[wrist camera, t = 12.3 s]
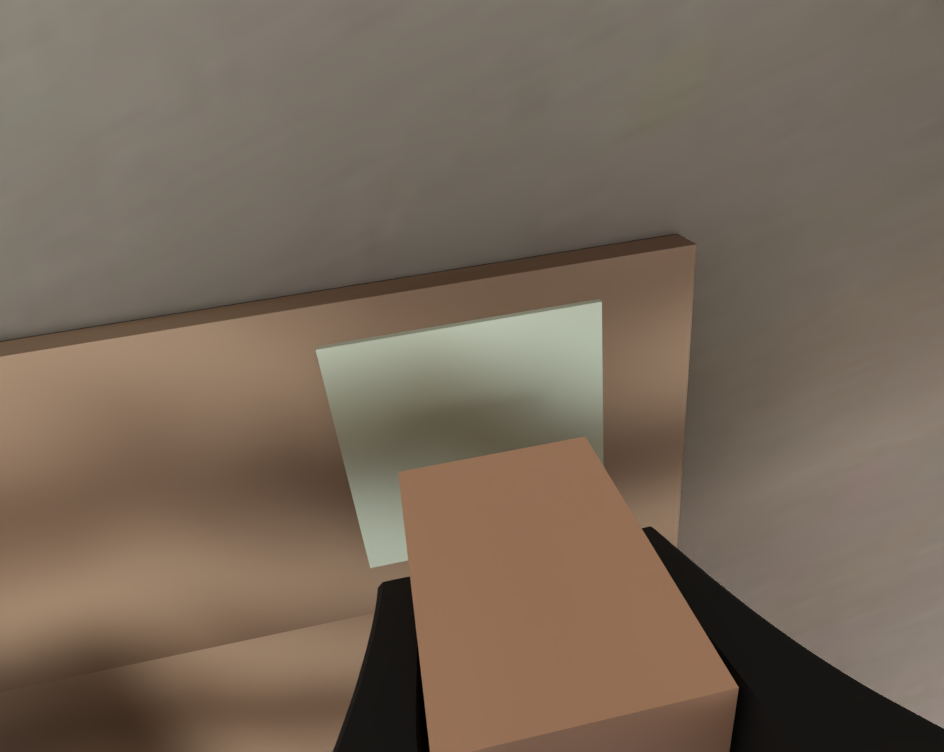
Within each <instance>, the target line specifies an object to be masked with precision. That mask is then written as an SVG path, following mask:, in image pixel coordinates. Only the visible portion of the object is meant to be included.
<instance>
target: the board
mask: <svg viewBox="0 0 944 752" xmlns="http://www.w3.org/2000/svg"><path fill="white" fill-rule="evenodd" d="M696 245H697V244H695V243H693V242H691V241H690V240H688V239H686V238H684V237H682V236H681V235H679V234H675V235H669V236H663V237H656V238H650V239H644V240H637V241H631V242H625V243H619V244H612V245H606V246H600V247H593V248H587V249H581V250H575V251H568V252H562V253H556V254H549V255H543V256H537V257H531V258H524V259H518V260H512V261H505V262H499V263H493V264H487V265H480V266H474V267H468V268H461V269H455V270H449V271H443V272H436V273H430V274H424V275H418V276H411V277H405V278H399V279H392V280H386V281H380V282H374V283H367V284H361V285H355V286H348V287H342V288H336V289H330V290H323V291H317V292H311V293H304V294H298V295H292V296H286V297H279V298H273V299H267V300H260V301H254V302H248V303H242V304H235V305H229V306H223V307H216V308H210V309H204V310H198V311H191V312H185V313H179V314H172V315H166V316H160V317H154V318H147V319H141V320H135V321H128V322H122V323H116V324H110V325H103V326H97V327H91V328H84V329H78V330H72V331H66V332H59V333H53V334H47V335H40V336H34V337H28V338H22V339H15V340H9V341H3V342H0V752H333V749H334V747H335V744H336V742H337V739H338V736H339V733H340V730H341V728H342V725H343V722H344V719H345V716H346V713H347V711H348V708H349V705H350V702H351V699H352V696H353V693H354V690H355V687H356V683H357V680H358V676H359V673H360V670H361V666H362V663H363V659H364V656H365V652H366V648H367V644H368V640H369V636H370V632H371V628H372V623H373V618H374V613H375V607H376V600H377V591H378V587H379V586H380V585H381V583H382V582H385V581H390V580H395V579H399V578H404V577H409V576H410V571H409V563H408V554H407V545H406V536H405V527H404V519H403V510H402V501H401V492H400V483H399V475H398V472H401V471H406V470H411V469H417V468H422V467H427V466H432V465H438V464H443V463H448V462H453V461H459V460H464V459H469V458H474V457H480V456H485V455H490V454H495V453H501V452H506V451H511V450H516V449H522V448H527V447H532V446H537V445H543V444H548V443H553V442H558V441H564V440H569V439H574V438H579V437H586V438H587V440H588V442H589V443H590V445H591V446H592V448H593V450H594V451H595V453H596V455H597V456H598V458H599V460H600V461H601V463H602V464H603V466H604V468H605V469H606V471H607V473H608V474H609V476H610V478H611V479H612V481H613V482H614V484H615V486H616V487H617V489H618V491H619V492H620V494H621V496H622V497H623V499H624V500H625V502H626V504H627V505H628V507H629V509H630V510H631V512H632V514H633V515H634V517H635V518H636V520H637V522H638V523H639V525H640V527H641V528H645V527H650V526H651V527H653V528H654V529H655V530H657V531H658V532H659V533H660V534H661V535H662V536H664V537H665V538H666V539H667V540H668V541H669V542H670V543H672V544H673V545H674V546H675V547H676V548H677V545H678V530H679V514H680V498H681V482H682V466H683V451H684V435H685V419H686V403H687V387H688V372H689V356H690V340H691V324H692V308H693V293H694V277H695V261H696Z"/></svg>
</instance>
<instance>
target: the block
mask: <svg viewBox="0 0 944 752" xmlns="http://www.w3.org/2000/svg"><path fill="white" fill-rule="evenodd" d="M398 475H399V483H400V492H401V501H402V510H403V519H404V527H405V536H406V545H407V554H408V563H409V571H410V580H411V589H412V598H413V607H414V615H415V624H416V633H417V642H418V651H419V659H420V668H421V677H422V686H423V695H424V703H425V712H426V721H427V730H428V738H429V747H430V752H729V751H730V744H731V737H732V730H733V724H734V717H735V710H736V703H737V697H738V690H739V687H738V685H737V684H736V682H735V681H734V679H733V677H732V676H731V674H730V672H729V671H728V669H727V667H726V666H725V664H724V663H723V661H722V659H721V658H720V656H719V654H718V653H717V651H716V649H715V648H714V646H713V645H712V643H711V641H710V640H709V638H708V636H707V635H706V633H705V631H704V630H703V628H702V627H701V625H700V623H699V622H698V620H697V618H696V617H695V615H694V613H693V612H692V610H691V609H690V607H689V605H688V604H687V602H686V600H685V599H684V597H683V595H682V594H681V592H680V591H679V589H678V587H677V586H676V584H675V582H674V581H673V579H672V577H671V576H670V574H669V573H668V571H667V569H666V568H665V566H664V564H663V563H662V561H661V559H660V558H659V556H658V555H657V553H656V551H655V550H654V548H653V546H652V545H651V543H650V541H649V540H648V538H647V536H646V535H645V533H644V532H643V530H642V528H641V527H640V525H639V523H638V522H637V520H636V518H635V517H634V515H633V514H632V512H631V510H630V509H629V507H628V505H627V504H626V502H625V500H624V499H623V497H622V496H621V494H620V492H619V491H618V489H617V487H616V486H615V484H614V482H613V481H612V479H611V478H610V476H609V474H608V473H607V471H606V469H605V468H604V466H603V464H602V463H601V461H600V460H599V458H598V456H597V455H596V453H595V451H594V450H593V448H592V446H591V445H590V443H589V442H588V440H587V438H586V437H579V438H574V439H569V440H564V441H558V442H553V443H548V444H543V445H537V446H532V447H527V448H522V449H516V450H511V451H506V452H501V453H495V454H490V455H485V456H480V457H474V458H469V459H464V460H459V461H453V462H448V463H443V464H438V465H432V466H427V467H422V468H417V469H411V470H406V471H401V472H398Z"/></svg>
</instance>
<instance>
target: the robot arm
mask: <svg viewBox="0 0 944 752" xmlns="http://www.w3.org/2000/svg"><path fill="white" fill-rule="evenodd" d="M642 530H643V532H644V533H645V535H646V536H647V538H648V540H649V541H650V543H651V545H652V546H653V548H654V550H655V551H656V553H657V555H658V556H659V558H660V559H661V561H662V563H663V564H664V566H665V568H666V569H667V571H668V573H669V574H670V576H671V577H672V579H673V581H674V582H675V584H676V586H677V587H678V589H679V591H680V592H681V594H682V595H683V597H684V599H685V600H686V602H687V604H688V605H689V607H690V609H691V610H692V612H693V613H694V615H695V617H696V618H697V620H698V622H699V623H700V625H701V627H702V628H703V630H704V631H705V633H706V635H707V636H708V638H709V640H710V641H711V643H712V645H713V646H714V648H715V649H716V651H717V653H718V654H719V656H720V658H721V659H722V661H723V663H724V664H725V666H726V667H727V669H728V671H729V672H730V674H731V676H732V677H733V679H734V681H735V682H736V684H737V685H738V687H739V690H738V697H737V703H736V710H735V717H734V724H733V730H732V737H731V744H730V751H729V752H944V729H943V728H941V727H939V726H937V725H935V724H933V723H932V722H930V721H928V720H926V719H924V718H922V717H921V716H919V715H917V714H915V713H913V712H911V711H909V710H908V709H906V708H904V707H902V706H900V705H898V704H897V703H895V702H893V701H891V700H889V699H887V698H885V697H884V696H882V695H880V694H878V693H876V692H875V691H873V690H871V689H869V688H868V687H866V686H864V685H863V684H861V683H859V682H858V681H856V680H854V679H853V678H851V677H849V676H848V675H846V674H844V673H843V672H841V671H840V670H838V669H837V668H835V667H833V666H832V665H830V664H829V663H827V662H825V661H824V660H822V659H821V658H819V657H818V656H816V655H815V654H813V653H812V652H810V651H809V650H807V649H806V648H804V647H803V646H801V645H800V644H798V643H797V642H796V641H794V640H793V639H791V638H790V637H788V636H787V635H786V634H784V633H783V632H781V631H780V630H779V629H777V628H776V627H775V626H773V625H772V624H770V623H769V622H768V621H766V620H765V619H764V618H762V617H761V616H760V615H758V614H757V613H756V612H754V611H753V610H752V609H750V608H749V607H748V606H746V605H745V604H744V603H743V602H741V601H740V600H739V599H738V598H736V597H735V596H734V595H733V594H731V593H730V592H729V591H727V590H726V589H725V588H724V587H722V586H721V585H720V584H719V583H717V582H716V581H715V580H714V579H713V578H711V577H710V576H709V575H708V574H707V573H705V572H704V571H703V570H702V569H701V568H699V567H698V566H697V565H696V564H695V563H694V562H692V561H691V560H690V559H689V558H688V557H687V556H685V555H684V554H683V553H682V552H681V551H680V550H678V549H677V548H676V547H675V546H674V545H673V544H672V543H670V542H669V541H668V540H667V539H666V538H665V537H664V536H662V535H661V534H660V533H659V532H658V531H657V530H655V529H654V528H653V527H651V526H650V527H645V528H642ZM333 752H430V747H429V738H428V730H427V721H426V712H425V703H424V695H423V686H422V677H421V668H420V659H419V651H418V642H417V633H416V624H415V615H414V607H413V598H412V589H411V580H410V576H409V577H404V578H399V579H395V580H390V581H385V582H382V583H381V585H380V586H379V587H378V591H377V600H376V607H375V613H374V618H373V623H372V628H371V632H370V636H369V640H368V644H367V648H366V652H365V656H364V659H363V663H362V666H361V670H360V673H359V676H358V680H357V683H356V687H355V690H354V693H353V696H352V699H351V702H350V705H349V708H348V711H347V713H346V716H345V719H344V722H343V725H342V728H341V730H340V733H339V736H338V739H337V742H336V744H335V747H334V749H333Z"/></svg>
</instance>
